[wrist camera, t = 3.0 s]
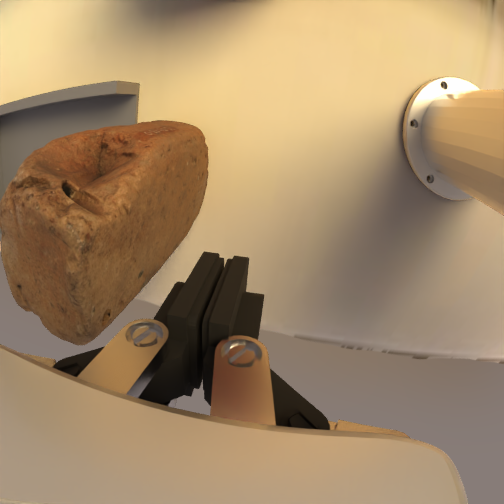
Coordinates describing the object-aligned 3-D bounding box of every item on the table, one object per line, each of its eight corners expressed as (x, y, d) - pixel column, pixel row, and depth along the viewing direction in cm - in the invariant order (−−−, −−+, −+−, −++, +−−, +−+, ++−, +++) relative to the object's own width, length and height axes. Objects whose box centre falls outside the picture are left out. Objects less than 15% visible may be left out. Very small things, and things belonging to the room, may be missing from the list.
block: (197, 231, 31) (95, 372, 13) (135, 210, 31) (2, 315, 13) (225, 129, 27) (97, 162, 9) (154, 112, 26) (-17, 134, 8)
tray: (139, 83, 25) (117, 80, 21) (139, 249, 33) (121, 266, 29) (-2, 109, 27) (-24, 113, 23) (8, 227, 35) (-11, 238, 31)
